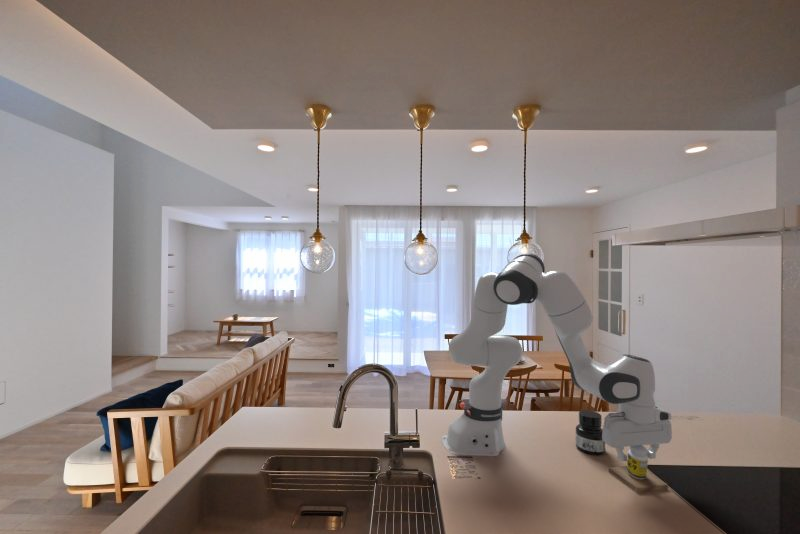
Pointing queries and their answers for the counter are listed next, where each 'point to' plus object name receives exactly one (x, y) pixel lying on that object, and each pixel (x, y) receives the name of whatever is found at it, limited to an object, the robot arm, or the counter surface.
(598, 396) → the robot arm
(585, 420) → the ink bottle
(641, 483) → the tan slab
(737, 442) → the counter surface
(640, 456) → the supplement bottle
